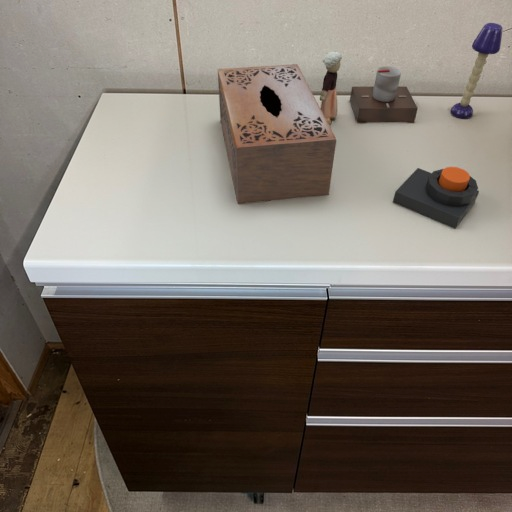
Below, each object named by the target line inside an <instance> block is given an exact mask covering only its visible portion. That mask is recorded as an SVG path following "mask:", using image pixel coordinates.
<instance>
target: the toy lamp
mask: <svg viewBox="0 0 512 512" xmlns="http://www.w3.org/2000/svg"><path fill="white" fill-rule="evenodd" d="M502 36H503V26H502V25H501V24H499V23H496V22H487V23H485V24H484V25H483V27H482V28H481V30H480V31H479V33H478V34H477V36H476V37H475V39H474V41H473V42H472V44H471V48H472V50H473V51H474V52H477V57H476V59H475V62H474V66H473V67H472V69H471V74H470V75H469V77H468V82H467V83H466V85H465V89H464V90H463V93H462V97H461V98H460V102H457V103H455V104H453V106H451V108H450V110H449V111H450V114H451V115H452V116H453V117H456V118H458V119H465V120H466V119H470V118H472V117H473V115H474V109H473V107H472V105H470V103H471V98H472V97H473V95H474V91H475V90H476V89H477V83H479V81H480V78H481V74H482V72H483V69H484V66H485V65H486V62H487V58H488V57H489V55H496V54H497V53H499V52H500V49H501V45H502Z"/></svg>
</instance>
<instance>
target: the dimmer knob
mask: <svg viewBox="0 0 512 512" xmlns="http://www.w3.org/2000/svg"><path fill="white" fill-rule="evenodd" d="M401 77H402V71H401V69H399V68H397V67H394V66H380V67H378V68H377V69H376V74H375V79H374V84H373V87H374V90H373V98H374V99H376V100H378V101H382V102H390V101H393V100H395V98H396V94H397V89H398V87H399V85H400V80H401Z"/></svg>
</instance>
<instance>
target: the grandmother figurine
mask: <svg viewBox="0 0 512 512" xmlns="http://www.w3.org/2000/svg"><path fill="white" fill-rule="evenodd" d="M342 59H343V55H342V54H341V53H340V52H337V51H330V52H327V54H326V55H325V56H324V58H323V59H322V63H324V66H325V69H326V73H325V75H324V76H323V82H322V87H321V92H320V96H319V101H321V103H320V109H321V111H322V113H323V114H324V116H325V118H326V120H327V122H328V124H329V126H330V125H331V124H332V119H334V118H335V117H337V116H338V93H337V81H338V71H339V70H340V68H341V61H342Z"/></svg>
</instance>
